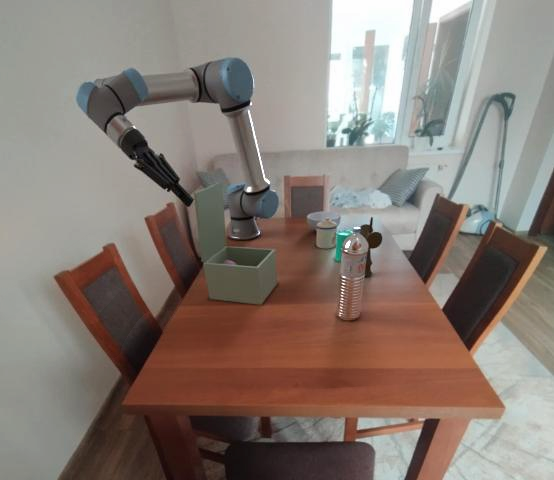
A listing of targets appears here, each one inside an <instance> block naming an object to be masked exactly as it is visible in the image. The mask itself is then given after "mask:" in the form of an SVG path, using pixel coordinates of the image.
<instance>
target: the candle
mask: <svg viewBox="0 0 554 480" xmlns="http://www.w3.org/2000/svg"><path fill="white" fill-rule="evenodd" d="M352 234H353V230H346V229H345V230H337V231H336V245H335V255H334V256H335V258H334V259H335V261H337V262H339V263H341V256H342V250H341V249H342V244H343V242H344V241H345V240H346V238H348V237H349V236H350V235H352Z"/></svg>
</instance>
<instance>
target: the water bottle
mask: <svg viewBox="0 0 554 480" xmlns="http://www.w3.org/2000/svg"><path fill="white" fill-rule="evenodd" d="M360 230H361V228H360V226H354V227H352V235H350V236H349V237H348V238H346V240H345V241H344V242H343V244H342V249H341V250H342V256H341V262H340V269H339V270H340V271H339V277H338V289H337V301H336V316H337V317H338V319H340V320H343V321H348V322H349V321H354V320H357V319H358V318H359V317H360V315H361V309H362V300H363V292H364V286H365V285H364V284H365V267H366V259H367V252H368V247H369V245H368V243H367V241H366V239H365V238H364V237H363V236H362V235H361V234H360Z"/></svg>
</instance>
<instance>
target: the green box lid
mask: <svg viewBox="0 0 554 480" xmlns="http://www.w3.org/2000/svg"><path fill="white" fill-rule="evenodd" d="M223 189H224V187H223V182H222V181H218V182H217V183H214V184H211V185H210V186H207V187H205V188H202V189H200V190H197V191H195V192H193V199H194V207H195V216H196V217H195V218H196V225H197V226H196V227H197V233H198V243H199V250H200V258H201V259H200V261H201V263H204V262H206V261H207V260H208V259H209V258H211V257H212V256H213V255H215V254H216V253H217V252H219V251H220V250H221V249H222V248H224V247H225V246H227V237H226V236H227V234H226V233H227V232H226V220H225V219H226V218H225V204H224V190H223Z"/></svg>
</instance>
